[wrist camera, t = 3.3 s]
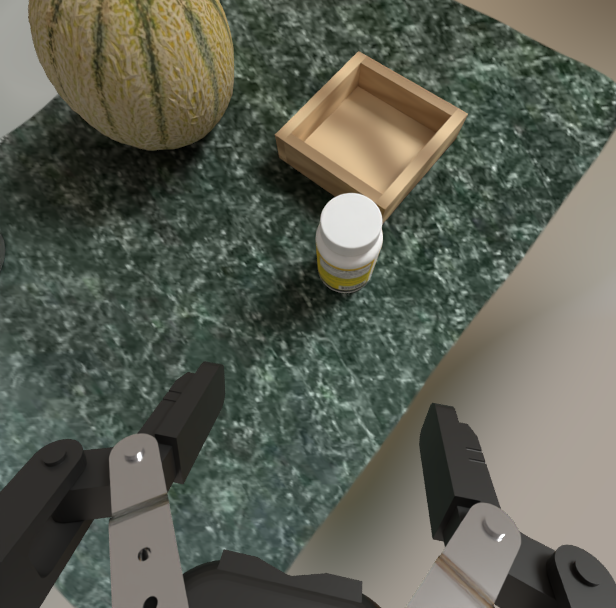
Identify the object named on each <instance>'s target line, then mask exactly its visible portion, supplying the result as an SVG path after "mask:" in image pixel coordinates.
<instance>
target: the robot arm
mask: <svg viewBox="0 0 616 608" xmlns="http://www.w3.org/2000/svg"><path fill="white" fill-rule="evenodd" d="M4 257H5V244H4V240H3V237H2V235H1V233H0V271H1V268H2V265H3V262H4ZM224 398H225V379H224V366H223V365H222V364H216V363H210V362H203V363H202V364H201V365H200V367H199V368H198V370H197V371H196V373H190V372H187V373H186V374H184V375H183V376H182V377H180V378H179V379H177V380H176V381H175V383H174V384H173V385H172V387H171V388H170V390H169V392H167V394H166V395H165V396H164V398H163V401H161V402H160V403H159V405H158V406H157V407H156V409H155V410H154V412H153V413H152V414H151V416H150V417H149V418H148V420H147V421H146V423H145V424H144V425H143V427H142V428H141V429H140V431H139V432H138V433H137V434H134V435H131V436H128V437H126V438H124V439H123V440H121V441H120V442H118V443H117V444H116V445H115V446H114V447H111V448H102V449H91V450H83V448H82V445H81V444H80V443H79V442H78V441H76V440H72V439H63V440H58V441H55V442H52V443H50V444H48V445H46V446H44V447H43V448H41V449H40V450H39V451H38V452H36V453H35V454H34V455H33V457H32V458H31V459H30V460H29V461H28V462H27V463H26V464H25V465H24V466H23V468H22V469H21V470H20V471H19V472H18V473H17V474H16V475H15V476H14V478H13V479H12V480H11V481H10V482H9V483H8V484H7V485H6V486H5V487H4V489H3V490H2V491H1V492H0V608H40V606H41V604H42V603H43V601H44V600H45V598H46V596H47V595H48V593H49V592H50V590H51V588H52V587H53V585H54V583H55V582H56V580H57V579H58V577H59V575H60V574H61V572H62V570H63V569H64V567H65V566H66V564H67V562H68V561H69V559H70V558H71V556H72V554H73V553H74V551H75V549H76V548H77V546H78V545H79V543H80V541H81V540H82V538H83V536H84V535H85V533H86V532H87V530H88V528H89V527H90V525H91V524H92V522H93V520H94V519H98V518H106V517H112V518H110V519H109V545H110V569H111V592H112V608H381V607H380V606H379V605H378V604H376V603H375V602H374V601H373V600H371V599H370V598H369V597H367V596H366V595H364V594H362V581H359V580H354V579H350V578H346V577H341V576H336V575H332V574H328V573H325V574H311V575H299V576H290V575H287V574H285V573H283V572H282V571H280V570H278V569H277V568H275V567H273V566H271V565H270V564H268V563H266V562H265V561H263V560H261V559H259V558H258V557H255V556H250V555H246V554H242V553H237V552H233V551H229V550H223V553H222V556H221V559H220V560H218V561H212V562H207V563H204V564H201V565H199V566H196V567H194V568H192V569H190V570H189V571H187V572H185V573H184V574H182V569H181V564H180V559H179V553H178V548H177V543H176V537H175V532H174V527H173V522H172V516H171V511H170V506H169V500H168V495H167V493H168V491H169V489H170V487H171V485H172V483H173V482H175V483H180V484H184V482H185V480H186V478H187V476H188V474H189V472H190V470H191V468H192V466H193V464H194V462H195V460H196V458H197V456H198V454H199V452H200V450H201V448H202V446H203V444H204V442H205V440H206V438H207V437H208V435H209V433H210V431H211V429H212V427H213V425H214V423H215V421H216V419H217V417H218V415H219V413H220V411H221V409H222V406H223V403H224ZM419 446H420V453H421V461H422V467H423V475H424V481H425V489H426V496H427V503H428V510H429V517H430V524H431V530H432V538H433V539H434V540H439V541H443V542H444V544H445V549H444V550H443V552H442V553H441V555H440V556H439V557H438V558H437V559H436V561H435V562H434V564H433V565H432V567H431V569H430V570H429V572H428V573H427V575H426V576H425V578H424V579H423V581H422V582H421V584H420V586H419V587H418V588H417V590H416V592H415V593H414V595H413V596H412V598H411V599H410V601H409V602H408V604H407V605H406V607H405V608H495V607H494V604H495V605H497V606H498V607H500V608H616V584H615V582H614V580H613V578H612V576H611V575H610V573H609V572H608V571H607V569H606V568H605V567H604V566H603V565H602V564H601V563H600V562H599V561H598V560H597V559H596V558H595V557H594V556H592V555H591V554H590V553H588V552H586V551H585V550H583V549H581V548H579V547H576V546H573V545H562V546H560V547H559V548H558V549H557V550H556V551H554V550H553V549H551V548H549V547H547V546H545V545H543V544H541V543H539V542H537V541H535V540H533V539H531V538H529V537H528V536H526V535H524V534H523V533H521V532H520V531H519V530H518V528H517V526H516V524H515V522H514V521H513V520H512V519H511V518H510V516H508V514H506V513H505V512H504V511H503V510H501V507H500V505H499V502H498V499H497V496H496V493H495V490H494V487H493V484H492V481H491V477H490V474H489V471H488V468H487V465H486V464H485V459H484V456H483V453H482V452H481V447H480V444H479V441H478V437H477V436H476V435H475V433H474V432H473V430H472V429H471V428H470V427H469V426H468V424H465V423H459V421H458V418H457V414H456V411H455V408H454V407H452V406H447V405H441V404H436V403H432V404H431V405H430V408H429V411H428V413H427V416H426V419H425V421H424V424H423V427H422V429H421V434H420V443H419Z"/></svg>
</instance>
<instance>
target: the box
mask: <svg viewBox="0 0 616 608" xmlns="http://www.w3.org/2000/svg"><path fill="white" fill-rule="evenodd" d="M467 115H468V114H467V113H466V112H464V111H462V110H460V109H459V108H457V107H455V106H453V105H452V104H450V103H448V102H446V101H445V100H443V99H441V98H439V97H438V96H436V95H434V94H432V93H431V92H429V91H427V90H425V89H424V88H422V87H420V86H418V85H417V84H415V83H413V82H411V81H410V80H408V79H406V78H404V77H403V76H401V75H399V74H397V73H396V72H394V71H392V70H390V69H389V68H387V67H385V66H383V65H382V64H380V63H378V62H376V61H375V60H373V59H371V58H369V57H368V56H366V55H364V54H362V53H361V52H359V51H358V52H357V53H356V54H355V55H354V56H353V57H352V58H351V59H350V60H349V61H348V62H347V63H346V64H345V65H344V66H343V67H342V68H341V69H340V70H339V71H338V72H337V73H336V74H335V75H334V76H333V77H332V78H331V79H330V80H329V81H328V82H327V83H326V84H325V85H324V86H323V87H322V88H321V89H320V90H319V91H318V92H317V93H316V94H315V95H314V96H313V97H312V98H311V99H310V100H309V101H308V102H307V103H306V104H305V105H304V106H303V107H302V108H301V109H300V110H299V111H298V112H297V113H296V114H295V115H294V116H293V117H292V118H291V119H290V120H289V121H288V122H287V123H286V124H285V125H284V126H283V127H282V128H281V129H280V130H279V131H278V132H277V133H276V134H275V138H276V143H277V148H278V154H279V158H280V159H282V160H283V161H285V162H286V163H288V164H289V165H290V166H292V167H293V168H295V169H296V170H298V171H299V172H300V173H302V174H303V175H305V176H306V177H308V178H309V179H311V180H312V181H313V182H315V183H316V184H318V185H319V186H321V187H322V188H323V189H325V190H326V191H328V192H329V193H331V194H332V195H334V196H335V197H336V196H339V195H341V194H346V193H356V194H361V195H364V196H366V197H368V198H369V199H371V200H372V201H373V202H374V203H375V204H376V205H377V206H378V208H379V210H380V212H381V215H382V224H383V223H384V222H385V221H386V220H387V218H388V217H389V216H390V215H391V214H392V213H393V211H394V210H395V209H396V208H397V207H398V206H399V204H400V203H401V202H402V201H403V200H404V199H405V197H406V196H407V195H408V194H409V193H410V192H411V190H412V189H413V188H414V187H415V186H416V185H417V183H418V182H419V181H420V180H421V179H422V178H423V176H424V175H425V174H426V173H427V172H428V171H429V169H430V168H431V167H432V166H433V165H434V164H435V162H436V161H437V160H438V159H439V158H440V157H441V155H442V154H443V153H444V152H445V151H446V150H447V148H448V147H449V146H450V145H451V144H452V143H453V141H454V140H455V139H456V137H457V135H458V133H459V131H460V129H461V127H462V125H463V123H464V121H465V119H466V117H467Z"/></svg>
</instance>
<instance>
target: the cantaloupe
mask: <svg viewBox="0 0 616 608" xmlns="http://www.w3.org/2000/svg"><path fill="white" fill-rule="evenodd" d="M28 13H29V16H28V18H29V23H30V26H31V34H32V39H33V43H34V47H35V50H36V53H37V56H38V59H39V61H40V63H41V65H42V67H43V69H44V71H45V73H46V75H47V77H48V78H49V80H50V82H51V83H52V84H53V85H54V87H55V89H56V90H57V92H58V94H59V95H60V96H61V97H62V99H63V100H64V101H65V102H66V103H67V104H68V105H69V106H70V107H71V109H72V110H73V111H75V112H77V113H78V114H79V115H80V116H81V117H82V118H83V119H84V120H85V121H86V122H88V123H89V124H90V125H91V126H93V127H94V128H95V129H97V130H98V131H99V132H101V133H102V134H103V135H105V136H108V137H110V138H111V139H112V140H115V141H118V142H120V143H122V144H126V145H132V146H134V147H137V148H140V149H146V150H152V151H154V150H163V149H176V148H180V147H184V146H186V145H190V144H192V143H194V142H197V141H198V140H200V139H202V138H203V137H204V136H206V134H207V133H209V132H210V131H211V130H212V129H213V128H214V126H215V125H216V124H217V123H218V122H219V121H220V119H221V117H222V116H223V114H224V112H225V110H226V109H227V107H228V104H229V101H230V99H231V96H232V91H233V82H234V53H233V44H232V39H231V33H230V29H229V25H228V22H227V19H226V16H225V13H224V11H223V8H222V6H221V4H220V2H219V0H29V5H28Z"/></svg>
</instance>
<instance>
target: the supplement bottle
mask: <svg viewBox="0 0 616 608" xmlns="http://www.w3.org/2000/svg"><path fill="white" fill-rule="evenodd" d="M381 228H382V215H381V212H380V210H379V208H378V206H377V205H376V204H375V203H374V202H373V201H372V200H371V199H369V198H368V197H366V196H364V195H361V194H356V193H346V194H341V195H339V196H336V197H334V198H333V199H331V200H330V201H329V202H328V203H327V204H326V206H325V207H324V209H323V211H322V213H321V218H320V224H319V226H318V228H317V232H316V250H317V264H318V272H319V276H320V278H321V280H322V281H323V283H324V284H325V285H326V286H327V287H329V288H330V289H332V290H334V291H337V292H341V293H351V292H354V291H357V290H359V289H361V288H362V287H363V286H365V285H366V284H367V282H368V281H369V279H370V277H371V275H372V272H373V269H374V266H375V263H376V260H377V257H378V255H379V252H380V249H381V246H382V242H383V234H382V229H381Z"/></svg>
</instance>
